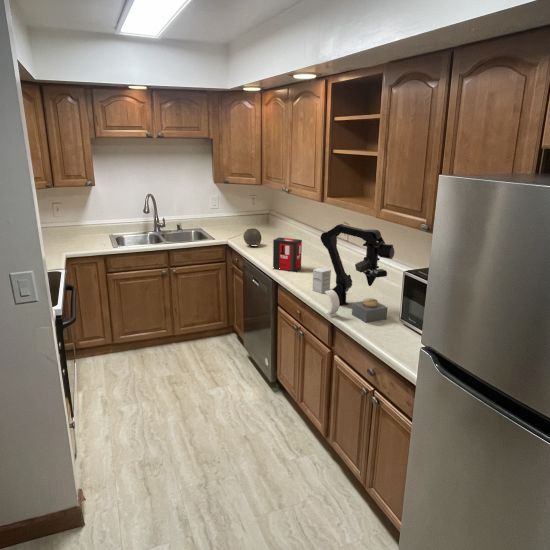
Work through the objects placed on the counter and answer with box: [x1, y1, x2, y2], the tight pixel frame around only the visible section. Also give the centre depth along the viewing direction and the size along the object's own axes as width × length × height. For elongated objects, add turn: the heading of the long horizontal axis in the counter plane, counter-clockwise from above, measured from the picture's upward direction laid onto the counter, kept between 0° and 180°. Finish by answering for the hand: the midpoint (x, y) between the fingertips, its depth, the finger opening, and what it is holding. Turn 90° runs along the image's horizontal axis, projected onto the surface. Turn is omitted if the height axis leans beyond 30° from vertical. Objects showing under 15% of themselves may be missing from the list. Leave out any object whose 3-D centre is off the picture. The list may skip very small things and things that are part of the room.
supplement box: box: [312, 267, 332, 294], centre depth 255 cm, size 7×7×13 cm
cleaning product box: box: [272, 236, 303, 273], centre depth 296 cm, size 16×9×20 cm, turn 65°
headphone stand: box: [323, 289, 340, 318], centre depth 219 cm, size 5×6×12 cm
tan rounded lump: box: [362, 297, 379, 307], centre depth 217 cm, size 7×7×6 cm
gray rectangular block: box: [351, 300, 388, 324], centre depth 219 cm, size 12×14×6 cm
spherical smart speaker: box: [242, 227, 262, 246], centre depth 358 cm, size 14×14×15 cm
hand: (369, 285), depth 224 cm, fingers closed
